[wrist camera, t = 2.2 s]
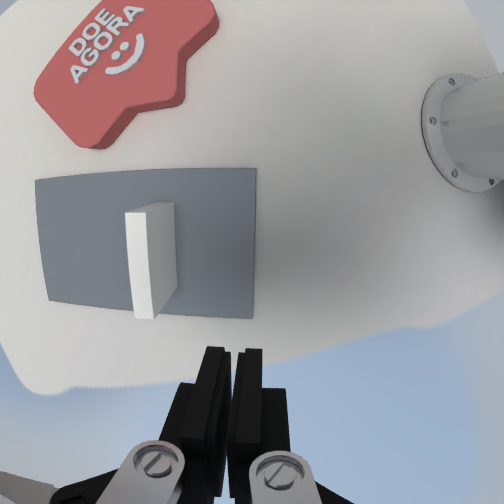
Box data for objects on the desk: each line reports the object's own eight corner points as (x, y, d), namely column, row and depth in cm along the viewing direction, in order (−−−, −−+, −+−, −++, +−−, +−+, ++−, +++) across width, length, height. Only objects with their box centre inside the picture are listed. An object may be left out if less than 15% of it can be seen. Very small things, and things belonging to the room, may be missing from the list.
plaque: (103, 177, 23) (24, 91, 21) (122, 175, 27) (45, 96, 25) (248, 22, 20) (140, -39, 18) (250, 39, 23) (151, -22, 21)
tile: (174, 202, 27) (145, 212, 20) (177, 286, 29) (153, 319, 22) (156, 202, 27) (123, 212, 20) (160, 285, 29) (133, 317, 22)
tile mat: (256, 168, 26) (255, 168, 26) (252, 316, 30) (252, 318, 29) (37, 179, 27) (34, 180, 26) (51, 298, 30) (48, 300, 30)
